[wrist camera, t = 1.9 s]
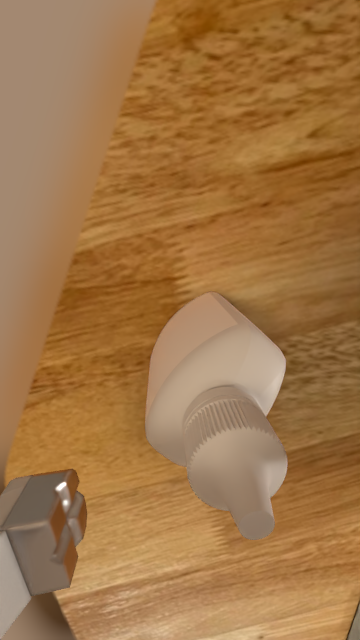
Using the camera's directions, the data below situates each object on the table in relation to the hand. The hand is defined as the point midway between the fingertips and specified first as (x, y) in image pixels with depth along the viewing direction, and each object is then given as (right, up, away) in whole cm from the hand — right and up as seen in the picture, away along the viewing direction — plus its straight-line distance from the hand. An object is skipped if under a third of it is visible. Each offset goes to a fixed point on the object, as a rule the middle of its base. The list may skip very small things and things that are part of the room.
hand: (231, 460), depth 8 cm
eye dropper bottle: (-1, +3, +10) cm, 10 cm away
